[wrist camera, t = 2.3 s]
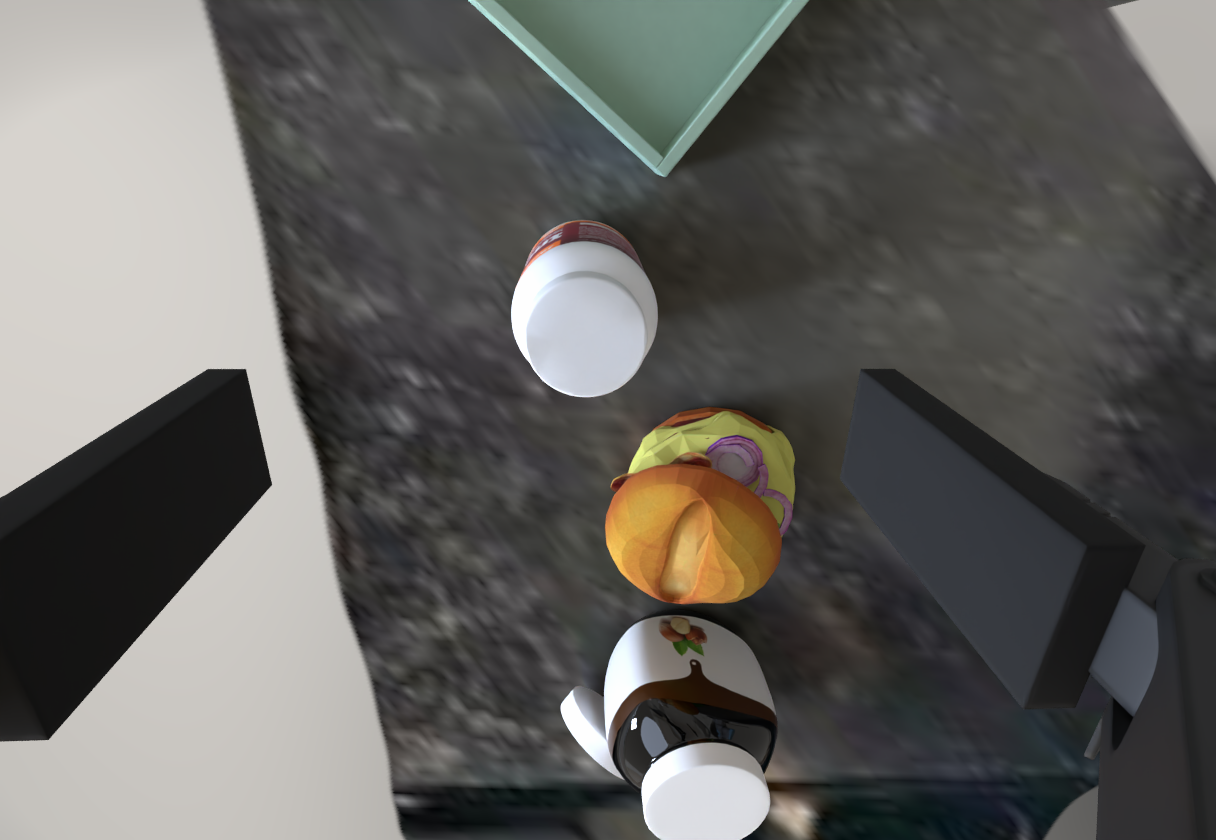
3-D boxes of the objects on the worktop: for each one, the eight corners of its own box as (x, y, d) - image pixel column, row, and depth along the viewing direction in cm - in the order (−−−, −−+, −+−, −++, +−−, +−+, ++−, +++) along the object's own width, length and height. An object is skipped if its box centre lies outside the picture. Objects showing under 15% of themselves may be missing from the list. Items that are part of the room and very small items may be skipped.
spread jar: (762, 622, 44) (823, 777, 33) (701, 734, 48) (738, 904, 37) (598, 583, 42) (606, 735, 31) (549, 704, 46) (542, 874, 35)
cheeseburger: (817, 500, 40) (841, 624, 31) (662, 540, 43) (646, 661, 35) (761, 365, 36) (771, 465, 27) (596, 423, 39) (560, 527, 31)
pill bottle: (544, 200, 32) (530, 228, 22) (657, 241, 33) (695, 285, 23) (510, 315, 34) (484, 388, 24) (617, 349, 35) (635, 433, 25)
